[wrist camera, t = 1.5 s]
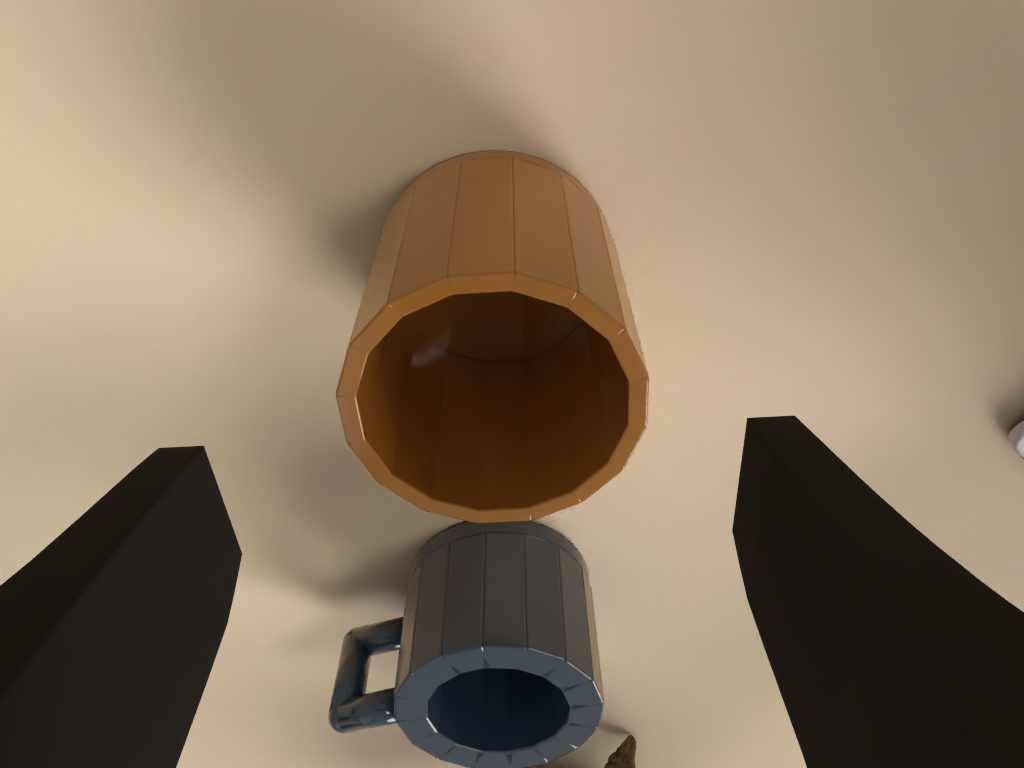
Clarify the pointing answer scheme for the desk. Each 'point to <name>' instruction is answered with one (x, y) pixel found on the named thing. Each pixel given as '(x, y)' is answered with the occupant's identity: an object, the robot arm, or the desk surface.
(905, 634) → the robot arm
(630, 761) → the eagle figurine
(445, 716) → the cup
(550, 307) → the orange tumbler
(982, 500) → the desk surface
